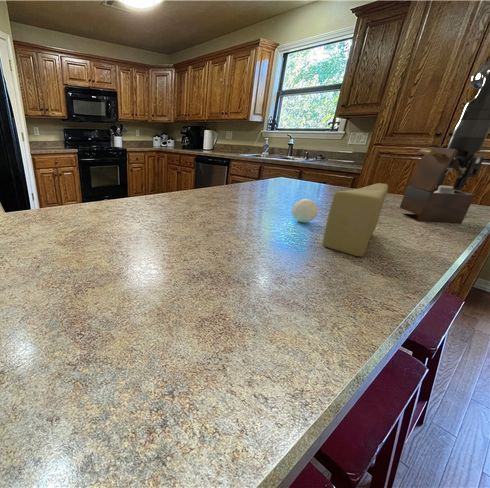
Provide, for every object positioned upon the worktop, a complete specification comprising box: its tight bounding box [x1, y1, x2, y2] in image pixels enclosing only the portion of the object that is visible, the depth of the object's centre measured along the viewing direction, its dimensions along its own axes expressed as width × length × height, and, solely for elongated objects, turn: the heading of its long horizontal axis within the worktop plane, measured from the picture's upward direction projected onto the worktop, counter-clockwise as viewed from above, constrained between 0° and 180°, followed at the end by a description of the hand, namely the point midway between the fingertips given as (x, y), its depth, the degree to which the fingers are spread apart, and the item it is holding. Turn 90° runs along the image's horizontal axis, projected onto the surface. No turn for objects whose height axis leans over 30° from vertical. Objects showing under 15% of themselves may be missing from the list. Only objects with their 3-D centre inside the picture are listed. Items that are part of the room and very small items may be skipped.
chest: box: [399, 185, 476, 225], centre depth 93 cm, size 13×12×10 cm
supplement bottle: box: [434, 185, 455, 194], centre depth 93 cm, size 6×6×10 cm
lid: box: [406, 146, 458, 192], centre depth 90 cm, size 13×12×5 cm
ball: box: [291, 198, 319, 224], centre depth 88 cm, size 8×8×8 cm
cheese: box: [322, 182, 389, 257], centre depth 71 cm, size 22×10×15 cm, turn 128°
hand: (446, 187), depth 91 cm, fingers open, 7 cm apart
